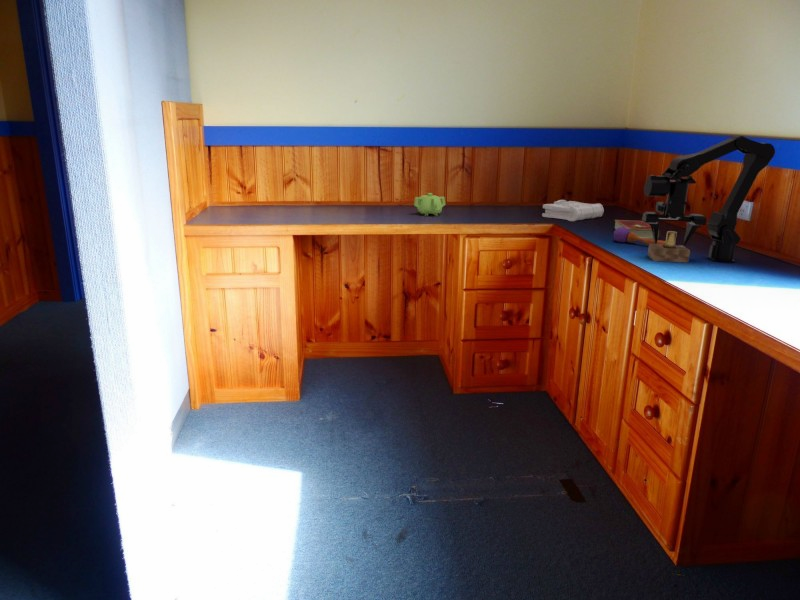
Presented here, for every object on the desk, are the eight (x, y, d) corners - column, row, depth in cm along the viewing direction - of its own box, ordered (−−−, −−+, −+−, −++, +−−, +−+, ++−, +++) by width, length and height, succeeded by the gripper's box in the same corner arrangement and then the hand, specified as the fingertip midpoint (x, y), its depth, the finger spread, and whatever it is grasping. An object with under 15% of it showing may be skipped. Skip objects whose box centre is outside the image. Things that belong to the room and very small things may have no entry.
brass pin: (671, 254, 208) (675, 231, 206) (674, 256, 205) (678, 233, 203) (662, 254, 209) (666, 230, 206) (664, 256, 206) (668, 232, 203)
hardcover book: (642, 230, 262) (643, 220, 260) (658, 240, 241) (659, 229, 240) (613, 229, 262) (614, 219, 261) (626, 238, 242) (628, 228, 241)
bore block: (681, 257, 210) (683, 245, 209) (688, 262, 203) (690, 250, 202) (647, 255, 212) (649, 243, 211) (653, 260, 204) (655, 248, 203)
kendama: (662, 240, 218) (611, 227, 231) (660, 256, 221) (609, 242, 234) (670, 235, 222) (619, 223, 235) (668, 250, 224) (618, 237, 238)
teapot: (445, 214, 286) (446, 192, 283) (436, 217, 276) (437, 195, 273) (422, 212, 291) (423, 191, 288) (412, 215, 281) (413, 193, 278)
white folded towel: (609, 217, 292) (611, 201, 290) (575, 222, 274) (576, 205, 272) (574, 212, 306) (575, 197, 304) (539, 217, 288) (540, 201, 286)
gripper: (699, 195, 208) (691, 240, 212) (641, 192, 210) (635, 238, 215) (710, 199, 197) (702, 247, 202) (649, 197, 200) (642, 244, 204)
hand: (669, 244), depth 206 cm, fingers open, 9 cm apart
